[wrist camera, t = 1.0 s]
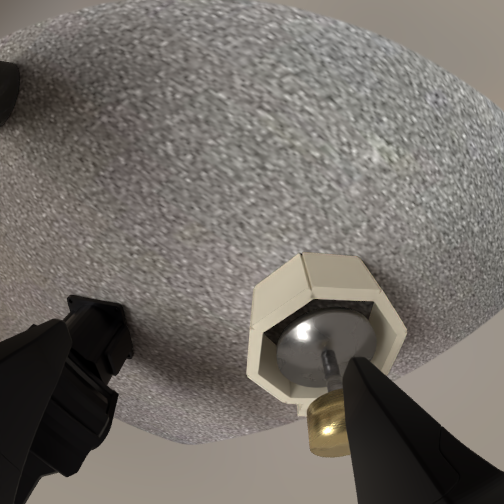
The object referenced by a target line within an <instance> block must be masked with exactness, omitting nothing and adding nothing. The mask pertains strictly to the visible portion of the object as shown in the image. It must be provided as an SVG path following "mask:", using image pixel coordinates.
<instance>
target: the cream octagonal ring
mask: <svg viewBox="0 0 504 504" xmlns="http://www.w3.org/2000/svg"><path fill="white" fill-rule="evenodd" d="M313 299H329V300H352V301H374V304H373V307H372V310H371V313H370V316H369V319H368V321H369V322H370V324H371V326H372V328H373V330H374V332H375V335H376V339H377V346H376V351H375V354H374V356H373V358H372V360H371V361H370V362H371V363H373V364H374V365H375V366H376V367H377V368H378V369H379V370H380V371H381V372H383V373H384V374H385V375H388V373H389V371H390V369H391V367H392V365H393V363H394V361H395V359H396V357H397V355H398V353H399V350H400V348H401V346H402V344H403V342H404V339H405V337H406V335H407V329H406V327H405V325H404V324H403V322H402V320H401V319H400V317H399V315H398V314H397V312H396V311H395V309H394V308H393V306H392V304H391V303H390V301H389V300H388V298H387V297H386V295H385V293H384V292H383V290H382V289H381V287H380V286H379V285H378V283H377V282H376V280H375V279H374V277H373V276H372V274H371V273H370V272H369V270H368V269H367V267H366V266H365V264H364V263H363V262H362V260H361V259H360V258H358V257H357V256H346V255H334V254H322V253H309V252H303V253H302V256H301V254H300V253H299V254H297V255H296V256H295V257H293V258H292V259H291V260H289V261H288V262H287V263H285V264H284V265H283V266H281V267H280V268H279V269H277V270H276V271H275V272H273V273H272V274H271V275H269V276H268V277H267V278H265V279H264V280H263V281H261V282H260V283H259V284H257V285H256V286H255V289H253V301H252V312H251V322H250V334H249V347H248V360H247V373H246V375H248V378H250V379H251V380H252V381H254V382H255V383H256V384H258V385H259V386H260V387H262V388H263V389H264V390H266V391H267V392H269V393H270V394H271V395H273V396H274V397H276V398H277V399H279V400H280V401H281V402H283V403H285V402H286V404H297V414H298V416H307V409H308V407H309V405H310V404H311V403H312V402H313V401H314V400H315V399H317V398H318V397H320V396H322V395H323V394H326V393H328V390H327V387H321V388H313V387H305V386H301V385H298V384H295V383H293V382H291V381H290V380H288V379H287V378H286V377H285V376H284V375H283V374H282V373H281V371H280V369H279V368H278V364H277V355H276V349H277V346H276V345H275V344H274V343H273V342H272V341H271V340H270V339H269V338H268V337H266V336H265V335H264V334H263V332H265V331H266V330H268V329H269V328H271V327H272V326H274V325H276V324H277V323H279V322H280V321H282V320H283V319H285V318H286V317H288V316H289V315H291V314H292V313H294V312H295V311H297V310H298V309H300V308H301V307H303V306H304V305H305V304H307V303H308V302H310V301H311V300H313Z"/></svg>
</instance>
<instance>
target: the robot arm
mask: <svg viewBox="0 0 504 504" xmlns="http://www.w3.org/2000/svg"><path fill="white" fill-rule="evenodd" d="M67 302H68V306H69V309H70V313H69V314H68V315H67V316H66V317H65V318H64V319H63V320H60V319H56V318H55V319H52V320H49V321H47V322H45V323H42V324H40V325H38V326H37V325H35V324H33V325H32V326H31V327H30V328H29V329H28V330H26V331H24V332H22V333H20V334H17V335H15V336H13V337H11V338H8V339H6V340H4V341H2V342H0V504H25V503H26V501H27V500H28V498H29V496H30V495H31V493H32V491H33V490H34V488H35V487H36V485H37V483H38V482H39V480H40V479H41V478H42V477H43V476H47V475H51V474H54V473H58V472H59V473H60V474H62V475H63V476H65V477H69V476H71V475H73V474H75V473H77V472H78V471H79V469H80V467H81V465H82V463H83V461H84V460H85V458H86V456H87V455H88V453H89V452H90V451H91V450H94V449H95V448H97V447H98V446H99V445H100V444H101V443H102V442H103V441H104V439H105V438H106V436H107V435H108V433H109V431H110V428H111V425H112V420H113V416H114V412H115V408H116V403H117V399H118V396H119V394H118V393H117V392H116V391H114V390H112V389H111V388H109V387H108V386H107V384H108V383H109V381H110V379H111V377H112V375H114V376H116V375H117V374H118V373H119V371H120V369H121V367H122V366H123V364H124V362H125V360H126V358H127V359H132V357H133V356H134V353H133V349H132V348H133V346H132V342H131V338H130V334H129V330H128V327H127V325H126V320H125V315H124V311H123V307H122V306H121V305H120V304H117V303H111V302H105V301H100V300H94V299H89V298H84V297H79V296H74V295H70V296H69V297H68V298H67ZM116 308H117V309H118V310H117V309H116ZM342 385H343V397H344V410H345V424H346V431H347V436H348V442H349V448H350V454H351V459H352V466H353V472H354V478H355V485H356V492H357V499H358V504H504V472H503V471H501V470H499V469H497V468H496V467H495V466H493V465H492V464H490V463H489V462H487V461H486V460H485V459H483V458H482V457H480V456H479V455H477V454H476V453H474V452H473V451H472V450H470V449H469V448H468V447H466V446H465V445H464V444H462V443H461V442H460V441H459V440H458V439H456V438H455V437H454V436H453V435H452V434H450V433H449V432H448V431H447V430H446V429H445V428H444V427H441V425H440V424H439V423H438V422H437V421H436V420H435V419H434V418H432V417H431V416H430V415H429V414H428V413H427V412H426V411H425V410H424V409H423V408H421V407H420V406H419V405H418V404H417V403H416V402H415V401H413V399H411V398H410V397H409V396H408V395H407V394H406V393H405V392H404V391H403V390H401V389H400V388H399V387H398V386H397V385H396V384H395V383H394V382H393V381H391V380H390V379H389V378H388V377H387V376H386V375H385V374H384V373H383V372H381V371H380V370H379V369H378V368H377V367H376V366H375V365H374V364H373V363H371V362H370V361H369V360H368V359H367V358H366V357H364V356H353V357H351V358H350V360H349V362H348V364H347V367H346V370H345V372H344V375H343V379H342Z"/></svg>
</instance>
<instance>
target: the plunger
mask: <svg viewBox="0 0 504 504" xmlns="http://www.w3.org/2000/svg"><path fill="white" fill-rule="evenodd" d="M376 346H377V339H376V335H375V332H374V330H373V328H372V326H371V324H370V322H369V321H368V319H367V318H366V317H365V316H364V315H362V314H361V313H359V312H357V311H356V310H353V309H350V308H345V307H324V308H320V309H316V310H313V311H310V312H308V313H305V314H303V315H302V316H300V317H298V318H297V319H295V320H294V321H293V322H291V323H290V324H289V325H288V326H287V327H286V328H285V330H284V331H283V332H282V334H281V335H280V337H279V340H278V343H277V349H276V355H277V364H278V368H279V369H280V371H281V373H282V374H283V375H284V376H285V377H286V378H287V379H288V380H290V381H291V382H293V383H295V384H298V385H301V386H305V387H313V388H321V387H327V390H328V393H326V394H323V395H322V396H320V397H318V398H317V399H315V400H314V401H313V402H312V403H311V404H310V405H309V407H308V409H307V423H308V433H309V445H310V451H311V452H312V453H313V454H315V455H317V456H321V457H340V456H346V455H350V448H349V442H348V436H347V431H346V424H345V410H344V397H343V385H342V379H343V375H344V372H345V370H346V367H347V364H348V362H349V360H350V358H351V357H353V356H364V357H366V358H367V359H368V360H369V361H371V360H372V358H373V356H374V354H375V351H376Z"/></svg>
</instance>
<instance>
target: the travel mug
mask: <svg viewBox="0 0 504 504" xmlns="http://www.w3.org/2000/svg"><path fill="white" fill-rule="evenodd" d="M19 81H20V79H19V71H18V68H17V66H16V65H15V64H13V63H10V62H4V61H0V126H1V125H2V124H3V123H4V122H5V121H6V120H7V119H8V117H9V115H10V114H11V112H12V109H13V107H14V105H15V102H16V98H17V95H18V90H19Z"/></svg>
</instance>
